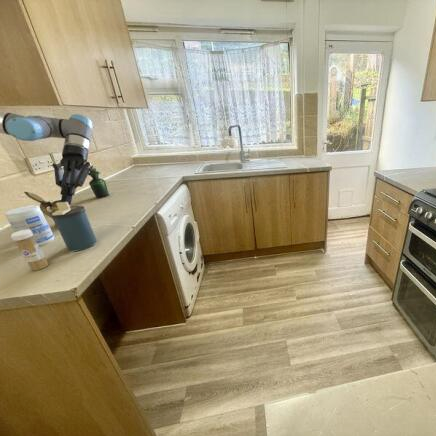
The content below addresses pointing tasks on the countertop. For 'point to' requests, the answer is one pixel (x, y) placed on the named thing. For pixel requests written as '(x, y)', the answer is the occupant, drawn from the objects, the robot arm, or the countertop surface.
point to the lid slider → (62, 208)
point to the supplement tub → (31, 223)
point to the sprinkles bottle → (30, 249)
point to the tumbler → (75, 229)
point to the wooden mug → (44, 204)
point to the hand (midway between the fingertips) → (65, 203)
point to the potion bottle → (98, 184)
